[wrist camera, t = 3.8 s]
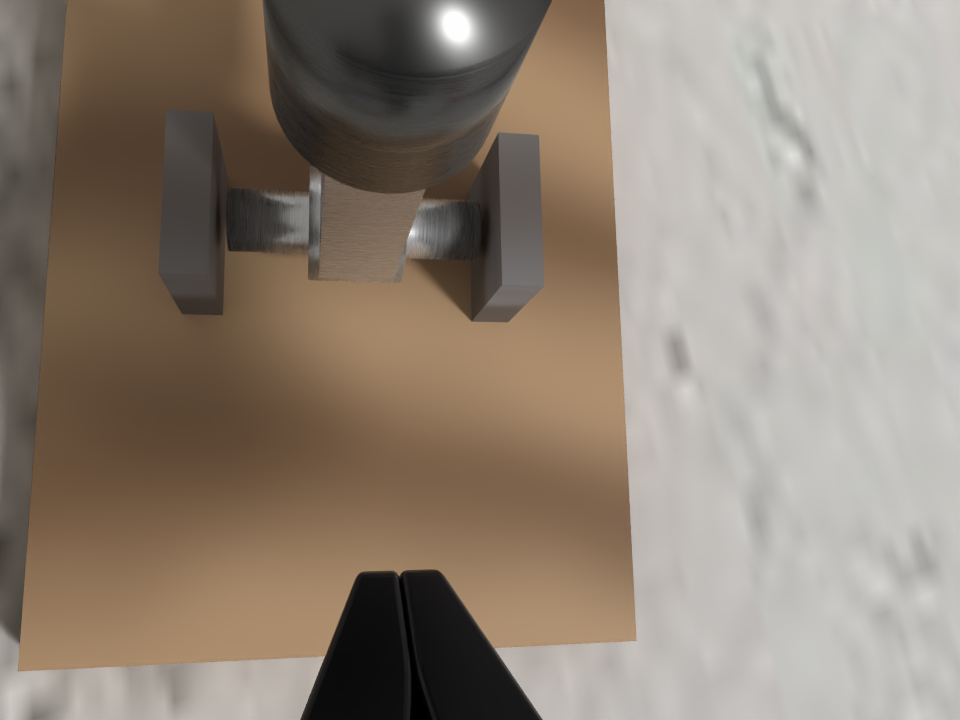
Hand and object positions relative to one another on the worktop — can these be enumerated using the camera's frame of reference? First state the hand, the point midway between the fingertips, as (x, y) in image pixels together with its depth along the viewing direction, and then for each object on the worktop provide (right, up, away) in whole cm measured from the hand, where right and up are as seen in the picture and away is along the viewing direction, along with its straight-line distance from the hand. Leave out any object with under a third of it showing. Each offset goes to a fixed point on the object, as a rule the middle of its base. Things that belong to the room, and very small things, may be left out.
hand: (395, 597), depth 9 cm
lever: (-2, +6, +9) cm, 12 cm away
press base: (-2, +6, +11) cm, 13 cm away
